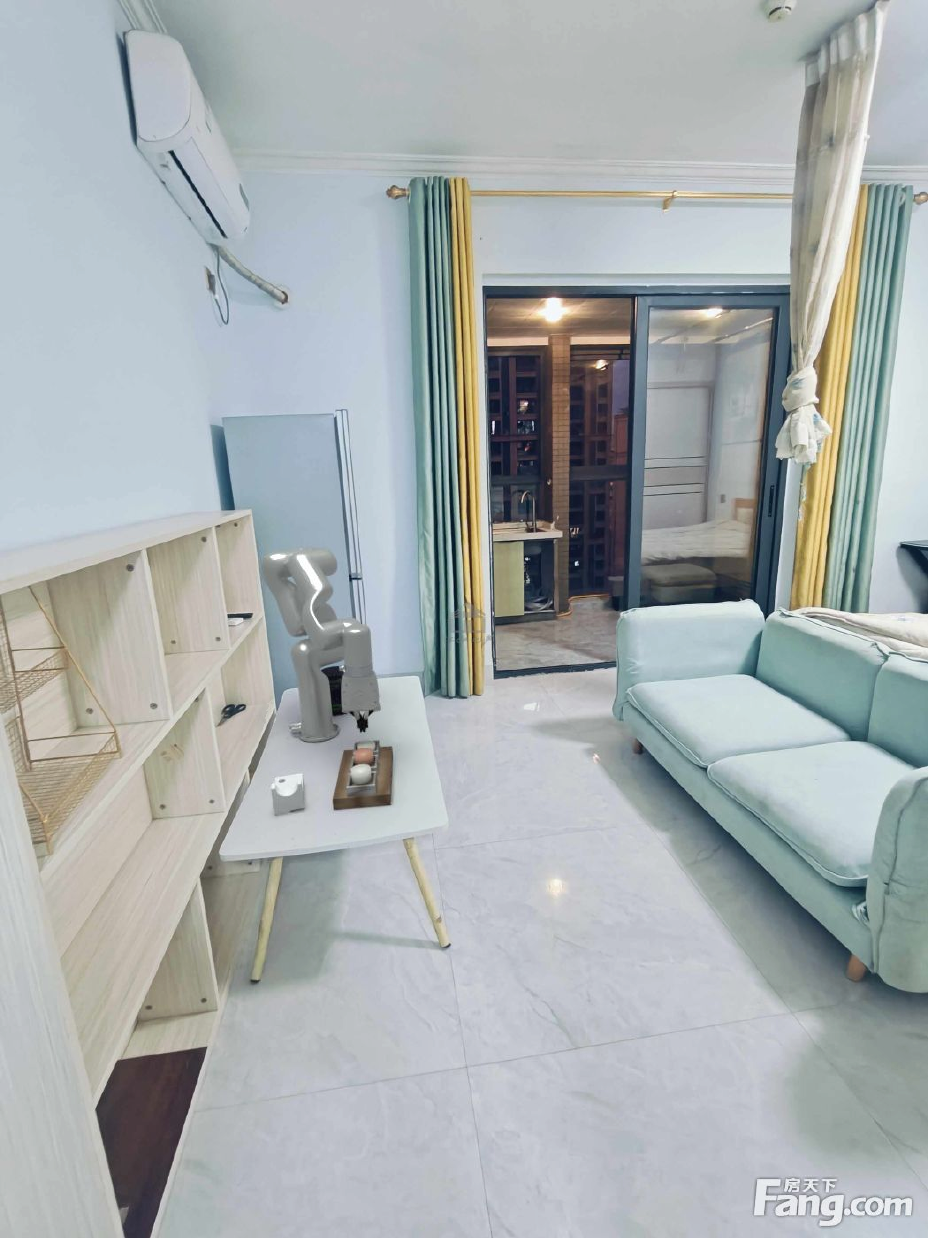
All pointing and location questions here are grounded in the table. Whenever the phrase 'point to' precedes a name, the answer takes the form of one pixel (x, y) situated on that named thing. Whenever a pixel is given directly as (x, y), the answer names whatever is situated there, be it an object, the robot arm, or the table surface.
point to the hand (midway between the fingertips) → (363, 730)
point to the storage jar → (335, 688)
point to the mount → (371, 792)
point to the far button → (367, 745)
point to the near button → (361, 774)
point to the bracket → (288, 793)
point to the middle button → (363, 756)
